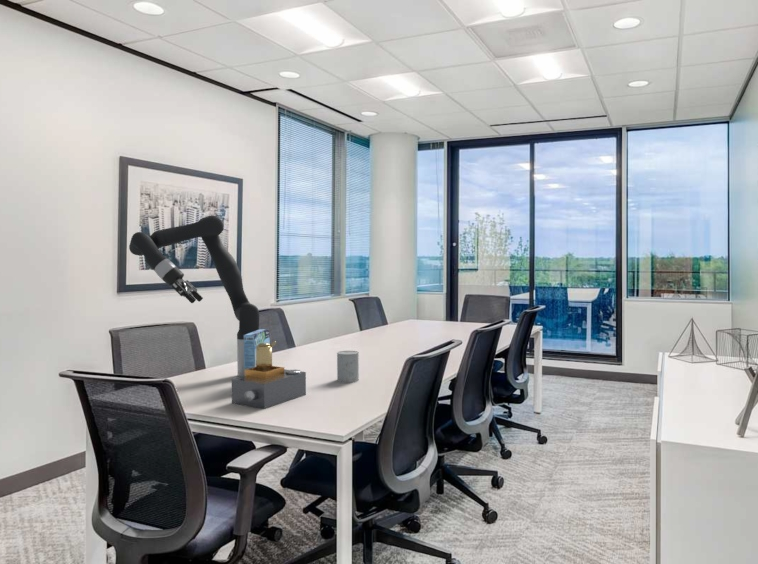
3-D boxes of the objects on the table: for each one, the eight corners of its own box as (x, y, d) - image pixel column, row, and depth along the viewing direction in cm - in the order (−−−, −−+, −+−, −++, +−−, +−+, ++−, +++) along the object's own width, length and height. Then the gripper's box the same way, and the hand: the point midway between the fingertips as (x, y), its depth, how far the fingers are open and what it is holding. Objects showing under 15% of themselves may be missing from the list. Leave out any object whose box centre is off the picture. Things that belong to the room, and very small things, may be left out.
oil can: (254, 375, 214) (254, 342, 213) (258, 372, 220) (258, 339, 219) (275, 375, 214) (274, 342, 213) (278, 372, 220) (277, 339, 219)
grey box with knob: (274, 389, 230) (274, 361, 230) (305, 394, 222) (305, 365, 222) (225, 404, 207) (225, 373, 207) (258, 410, 199) (258, 378, 199)
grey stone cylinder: (362, 379, 251) (362, 351, 250) (352, 383, 242) (352, 355, 241) (343, 377, 255) (343, 350, 254) (333, 381, 246) (333, 353, 245)
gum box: (255, 391, 228) (254, 335, 227) (243, 391, 228) (242, 335, 227) (271, 381, 247) (270, 329, 246) (259, 380, 248) (259, 328, 247)
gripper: (168, 266, 220) (198, 295, 221) (181, 265, 234) (209, 293, 235) (155, 280, 220) (185, 309, 221) (169, 278, 235) (197, 305, 235)
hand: (197, 300), depth 228 cm, fingers open, 8 cm apart
